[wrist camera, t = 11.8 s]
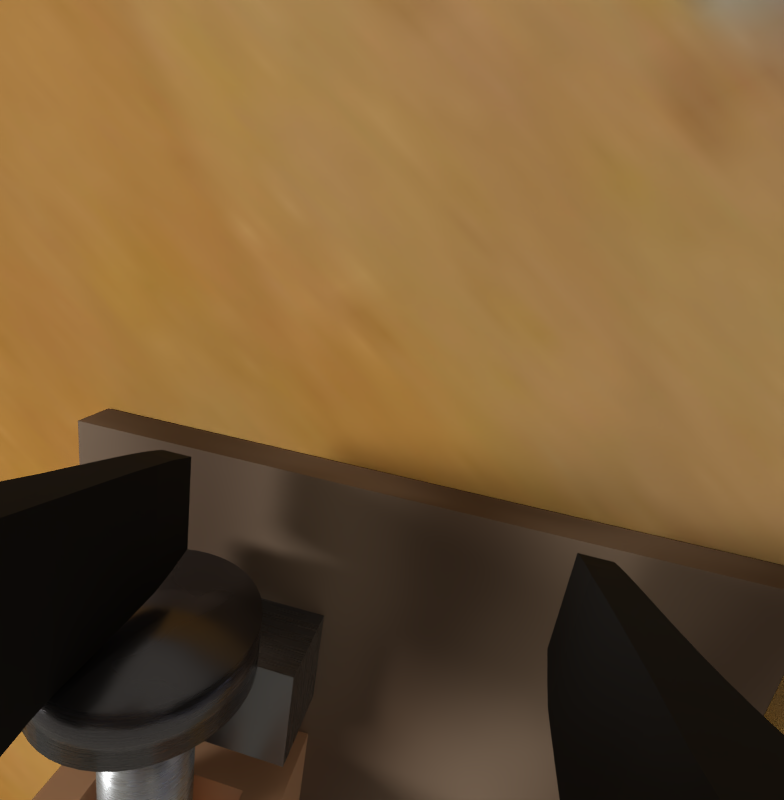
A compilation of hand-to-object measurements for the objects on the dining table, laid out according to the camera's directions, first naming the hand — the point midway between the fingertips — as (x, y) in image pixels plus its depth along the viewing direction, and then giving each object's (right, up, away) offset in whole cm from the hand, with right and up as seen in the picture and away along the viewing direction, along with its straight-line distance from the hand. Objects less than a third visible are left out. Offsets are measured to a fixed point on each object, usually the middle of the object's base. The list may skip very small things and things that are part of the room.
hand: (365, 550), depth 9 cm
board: (0, -8, +5) cm, 9 cm away
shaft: (-4, -6, +4) cm, 9 cm away
